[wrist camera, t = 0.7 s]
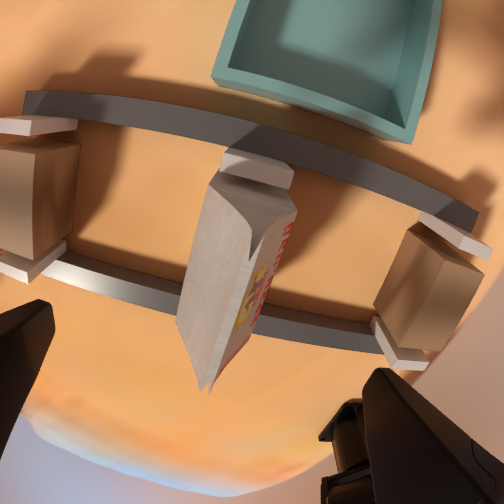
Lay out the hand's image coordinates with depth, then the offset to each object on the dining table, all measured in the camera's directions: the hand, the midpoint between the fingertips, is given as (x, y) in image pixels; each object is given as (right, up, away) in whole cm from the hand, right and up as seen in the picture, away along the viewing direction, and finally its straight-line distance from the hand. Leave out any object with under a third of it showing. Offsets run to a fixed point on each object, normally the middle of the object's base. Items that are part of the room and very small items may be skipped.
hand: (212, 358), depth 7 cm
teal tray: (+6, +16, +6) cm, 18 cm away
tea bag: (0, +4, +12) cm, 12 cm away
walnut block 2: (+13, +1, +13) cm, 18 cm away
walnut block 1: (-13, +7, +10) cm, 18 cm away
